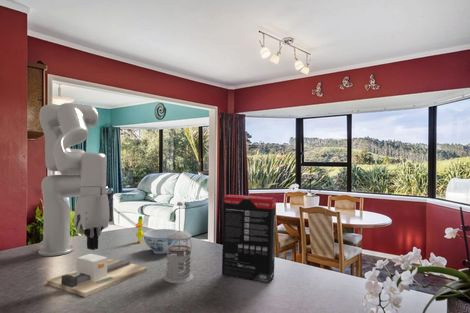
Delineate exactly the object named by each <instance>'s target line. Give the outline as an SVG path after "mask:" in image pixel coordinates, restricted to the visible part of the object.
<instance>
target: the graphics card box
mask: <svg viewBox="0 0 470 313" xmlns="http://www.w3.org/2000/svg"><path fill="white" fill-rule="evenodd" d="M222 209H223V214H222V215H223V216H222V220H223V222H222V252H221V253H222V254H221V262H222V263H221V276H223V277H230V278H233V279H234V278H235V279H239V280H240V279H242V280H246V281H251V282H252V281H253V282H258V283H264V284H270V283H271V282H272V280H273V279H274V277H275V255H276V254H275V252H276V251H275V249H276V219H277V218H276V215H277V214H276V210H277V198H276V197H270V196H269V197H268V196H258V195H257V196H255V195H242V194H226V195H224V196H223V208H222Z"/></svg>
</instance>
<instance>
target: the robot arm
mask: <svg viewBox="0 0 470 313" xmlns="http://www.w3.org/2000/svg"><path fill="white" fill-rule="evenodd" d="M38 117H39V123H40V127H41V130H42V133H43V134H44V141H45V142H44V146H45V148H44V152H45V153H44V154H45V167H46V169H47V170H48V171H50V172H58V173H60V174H51V175H48V176H45V177H44V178H43V179H42V181H41V183H40V184H41V194H42V198H43V225H42V226H43V227H42V228H43V231H42V232H43V234H42V236H43V237H42V238H43V239H42V241H40V245H42V248H40V249H39V250H38V255H39V256H43V257H54V256H62V255H66V254H69V253H72V252H74V248H75V246H73V245H70V237H71V236H70V234H71V207H70V205H69V204H68V202H67V201H66V200H65V199H66V198H77V199H76V203H75V209H74V214H73V215H74V217H73V226H74V227H75V228H76V233H77V234H83V235H84V236H85V237H86V248H87V250H91V251H95V250H99V237H100V236H101V233H102V231H104V229H106V228H108V227H109V222H110V215H111V214H110V203H109V197H108V194H107V191H108V190H109V187H108V186H107V160H108V159H107V156H106V154H105V153H101V152H88V151H87V152H86V151H85V150H84V149H81V148H71V147H74V146H76V145H79V144H81V143H83V142H85V141H86V140H87V139H88V138H89V135H90V134H89V129H88V128H94V127H96V126H97V125H98V124H99V113H98V110H97V109H96V107H95V106H93V105H89V104H82V103H72V102H65V103H61V104H45V105H43V106H42V107H41V108H40V110H39V116H38Z"/></svg>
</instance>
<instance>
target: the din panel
mask: <svg viewBox="0 0 470 313" xmlns="http://www.w3.org/2000/svg"><path fill="white" fill-rule="evenodd" d="M144 271H145V272H147V271H148V267H147V266H142V265H139V264H135V263H134V264H133V263H131V262H130V260H126V259H121V260H117V259H114V258H109V259H107V276H106V277H104V278H101V279H99V280H96V281H90V275H86V274H80V275H77V269H76V270H73V271H70V272H67V273H65V274H61V275H57V276H56V277H53V278H50V279H46V280H47V281H46V284H47V285H48V286H49V285H50V286H53V287H55V288H57V289H58V288H59V289H60V290H64V291H67V292H69V293H72V294H75V295H78V296H81V297H82V298H83V297H84V298H86V297H89V296H91V295H94V294H96V293H98V292H101V291H102V290H106V289H107V288H110V287H112V286H114V285H117V284H119V283H121V281H122V282H125V281H126V279H127V280H129V279H131V278H133V277H132V276H134V277H136V276H138V275H141V274H143V273H145V272H144ZM142 272H143V273H142ZM140 273H141V274H140ZM137 274H138V275H137ZM135 275H136V276H135ZM130 277H131V278H130ZM128 278H129V279H128Z"/></svg>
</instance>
